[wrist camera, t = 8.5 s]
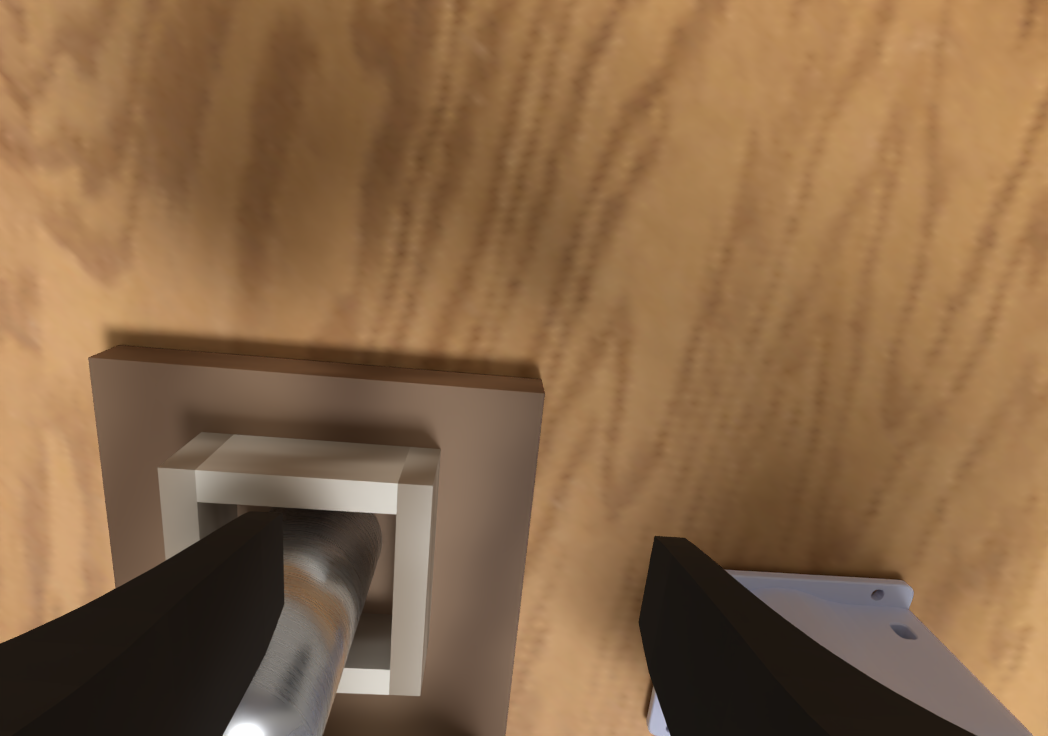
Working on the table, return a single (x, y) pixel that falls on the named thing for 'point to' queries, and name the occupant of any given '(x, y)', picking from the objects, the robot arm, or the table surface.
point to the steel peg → (311, 622)
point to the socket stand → (344, 505)
